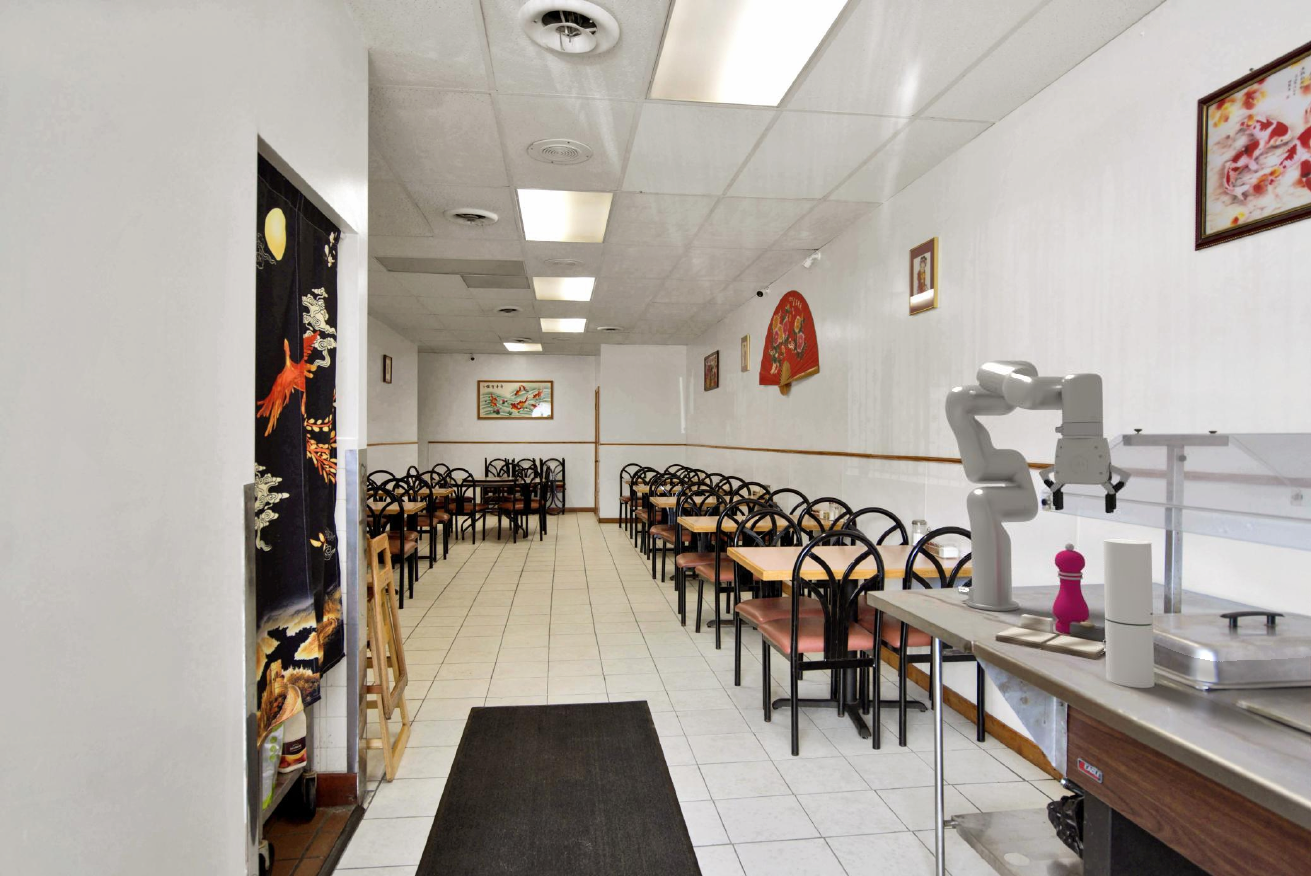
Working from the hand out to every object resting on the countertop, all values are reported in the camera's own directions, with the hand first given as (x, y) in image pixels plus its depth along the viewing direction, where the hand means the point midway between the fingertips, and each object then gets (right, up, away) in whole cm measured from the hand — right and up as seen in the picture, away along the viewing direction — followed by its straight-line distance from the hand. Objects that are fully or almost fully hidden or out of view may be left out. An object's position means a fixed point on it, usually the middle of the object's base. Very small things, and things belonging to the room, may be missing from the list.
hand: (1083, 511), depth 150 cm
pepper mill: (+3, -29, +9) cm, 30 cm away
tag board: (-7, -28, -1) cm, 29 cm away
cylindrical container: (-7, -28, -25) cm, 38 cm away
